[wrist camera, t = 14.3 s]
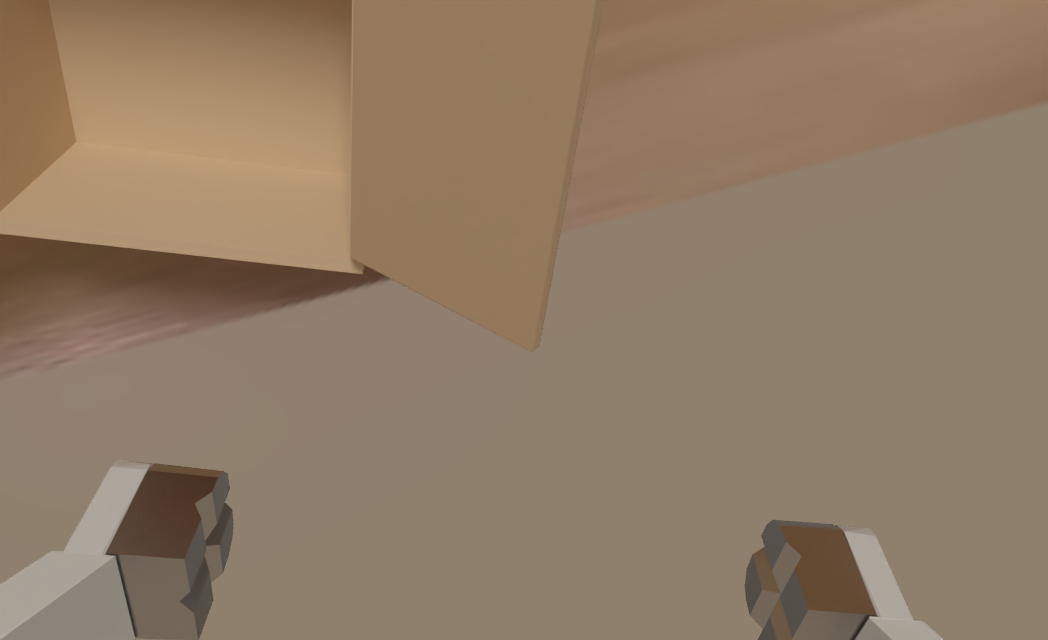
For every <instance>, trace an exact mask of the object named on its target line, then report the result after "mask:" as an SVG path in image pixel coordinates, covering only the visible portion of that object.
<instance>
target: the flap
mask: <svg viewBox="0 0 1048 640" xmlns="http://www.w3.org/2000/svg"><path fill="white" fill-rule="evenodd" d="M603 1H604V0H354V14H353V90H352V166H351V242H350V258H352V259H354V260H356V261H358V262H360V263H362V264H364V265H366V266H368V267H370V268H371V269H373V270H375V271H377V272H379V273H381V274H383V275H385V276H387V277H389V278H391V279H393V280H394V281H396V282H398V283H400V284H402V285H404V286H406V287H408V288H410V289H412V290H414V291H415V292H417V293H419V294H421V295H423V296H425V297H427V298H429V299H431V300H433V301H435V302H437V303H439V304H441V305H442V306H444V307H446V308H448V309H450V310H452V311H454V312H456V313H458V314H460V315H461V316H463V317H465V318H467V319H469V320H471V321H473V322H475V323H477V324H479V325H481V326H483V327H485V328H487V329H488V330H490V331H492V332H494V333H496V334H498V335H500V336H502V337H504V338H506V339H507V340H509V341H511V342H513V343H515V344H517V345H519V346H521V347H523V348H525V349H527V350H529V351H530V352H533V351H535V350H536V349H537V348H538V347H539V346H540V340H541V335H542V330H543V324H544V318H545V313H546V308H547V303H548V297H549V292H550V287H551V281H552V276H553V270H554V265H555V260H556V254H557V249H558V243H559V238H560V233H561V227H562V222H563V217H564V211H565V206H566V200H567V195H568V190H569V184H570V179H571V174H572V168H573V163H574V157H575V152H576V147H577V141H578V136H579V130H580V125H581V120H582V114H583V109H584V104H585V98H586V93H587V87H588V82H589V77H590V71H591V66H592V60H593V55H594V50H595V44H596V39H597V34H598V28H599V23H600V17H601V12H602V7H603Z"/></svg>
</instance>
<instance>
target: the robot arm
mask: <svg viewBox="0 0 1048 640" xmlns="http://www.w3.org/2000/svg"><path fill="white" fill-rule="evenodd" d="M229 489H230V486H229V480H228V473H226V472H224V471H216V470H207V469H198V468H190V467H181V466H172V465H164V464H152V463H142V462H133V461H124V460H118V461H117V462H116V463H115V464H114V465H113V466H112V467H110V468H109V470H108V472H107V473H106V475H105V477H104V479H103V481H102V482H101V484H100V486H99V488H98V489H97V491H96V493H95V495H94V496H93V498H92V500H91V502H90V504H89V506H88V507H87V509H86V511H85V512H84V515H83V516H82V518H81V520H80V521H79V523H78V525H77V527H76V528H75V530H74V532H73V534H72V535H71V537H70V539H69V541H68V542H67V544H66V546H65V548H64V550H63V551H50V552H49V553H47V554H46V555H44V556H43V557H41V558H40V559H38V560H37V561H35V562H33V563H32V564H30V565H29V566H27V567H26V568H24V569H23V570H21V571H20V572H18V573H17V574H15V575H14V576H12V577H10V578H9V579H8V580H6V581H4V582H3V583H1V584H0V640H136V639H135V638H144V639H166V640H199V638H200V635H201V632H202V629H203V627H204V624H205V621H206V618H207V616H208V613H209V610H210V608H211V605H212V602H213V594H212V587H211V582H212V581H213V580H215V579H216V578H217V577H219V576H220V575H221V574H222V573H223V571H224V568H225V565H226V562H227V559H228V556H229V551H230V546H231V541H232V535H233V513H232V509H231V508H230V507H229V506H228V505H227V504H226V503H225V500H226V498H227V495H228V492H229ZM762 539H763V543H764V546H765V547H764V548H762V549H760V550H759V551H757V552H756V553H754V554H753V555H752V557H751V559H750V562H749V564H748V567H747V571H746V581H745V593H746V601H747V605H748V609H749V614H750V616H751V617H752V618H753V619H754V620H755V621H756V622H757V623H758V624H759V625H760V626H761V627H762V629H763V631H762V633H761V635H760V636H759V639H758V640H944V639H943V638H942V637H941V636H939V635H938V634H937V633H936V632H935V631H934V630H933V629H932V628H930V627H929V626H928V625H927V624H926V623H925V622H924V621H918V620H914V619H913V617H912V615H911V613H910V611H909V608H908V606H907V604H906V602H905V600H904V597H903V595H902V593H901V591H900V589H899V586H898V584H897V582H896V580H895V578H894V575H893V573H892V571H891V569H890V567H889V564H888V562H887V560H886V558H885V556H884V553H883V551H882V549H881V547H880V545H879V542H878V540H877V538H876V536H875V534H874V533H873V532H872V531H871V530H870V529H869V528H865V527H853V526H841V525H835V526H834V525H832V524H821V523H808V522H796V521H783V520H772V521H771V522H769V523H768V524H767V525H766V527H765V529H764V531H763V533H762Z"/></svg>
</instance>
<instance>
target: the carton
mask: <svg viewBox="0 0 1048 640" xmlns="http://www.w3.org/2000/svg"><path fill="white" fill-rule="evenodd" d="M353 14H354V0H0V234H7V235H16V236H25V237H34V238H43V239H52V240H61V241H70V242H79V243H88V244H97V245H106V246H115V247H124V248H133V249H142V250H150V251H159V252H168V253H177V254H186V255H195V256H204V257H213V258H222V259H231V260H240V261H249V262H258V263H267V264H276V265H285V266H294V267H303V268H311V269H320V270H329V271H338V272H347V273H356V274H363V273H364V269H365V266H366V265H364V264H362V263H360V262H358V261H356V260H354V259H352V258H350V242H351V166H352V90H353Z"/></svg>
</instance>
